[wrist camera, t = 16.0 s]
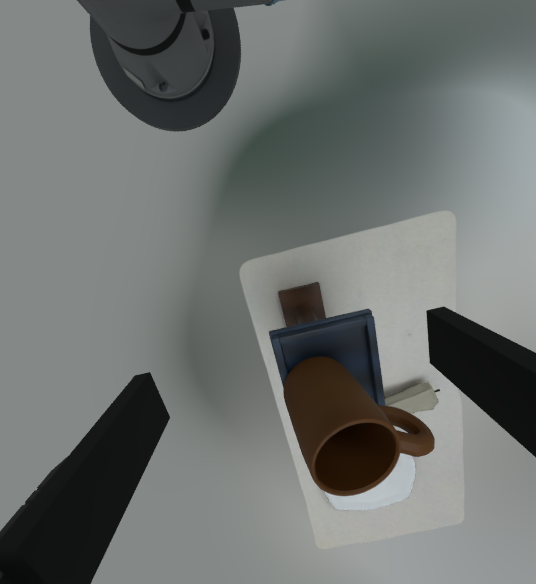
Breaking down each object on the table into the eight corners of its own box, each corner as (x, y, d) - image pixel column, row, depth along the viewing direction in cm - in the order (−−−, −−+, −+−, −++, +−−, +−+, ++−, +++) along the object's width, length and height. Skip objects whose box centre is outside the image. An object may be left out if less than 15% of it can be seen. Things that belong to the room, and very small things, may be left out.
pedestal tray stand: (267, 281, 48) (269, 338, 26) (323, 267, 48) (375, 314, 25) (284, 348, 53) (298, 448, 30) (335, 336, 52) (390, 430, 29)
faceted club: (318, 401, 55) (426, 362, 54) (326, 421, 60) (426, 385, 59) (332, 441, 48) (458, 397, 47) (341, 460, 52) (456, 420, 51)
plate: (409, 425, 59) (413, 432, 57) (413, 494, 65) (418, 502, 63) (312, 442, 60) (314, 449, 58) (326, 508, 67) (328, 516, 65)
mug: (388, 354, 28) (463, 414, 19) (374, 411, 30) (437, 490, 21) (286, 352, 26) (317, 418, 17) (277, 414, 28) (302, 503, 19)
